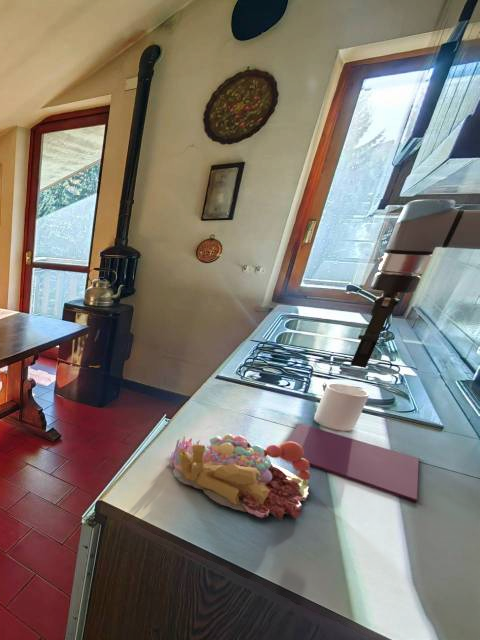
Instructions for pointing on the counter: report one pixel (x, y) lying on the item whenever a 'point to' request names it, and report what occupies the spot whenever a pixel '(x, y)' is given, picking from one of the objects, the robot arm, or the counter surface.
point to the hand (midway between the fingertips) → (360, 360)
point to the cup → (340, 406)
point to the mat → (359, 461)
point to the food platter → (244, 474)
